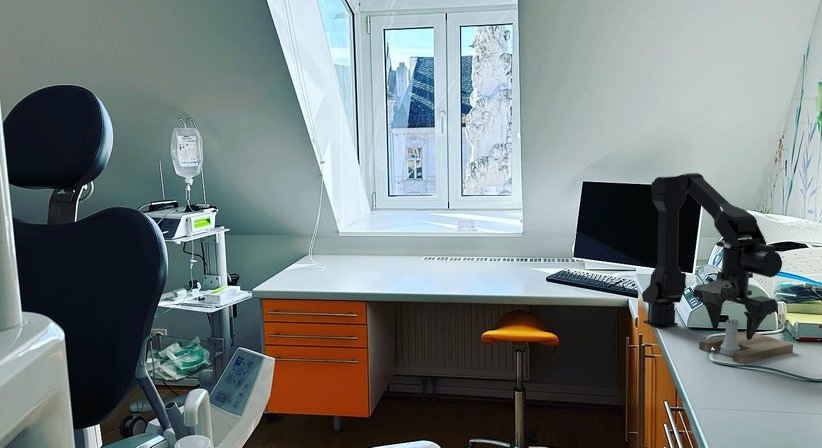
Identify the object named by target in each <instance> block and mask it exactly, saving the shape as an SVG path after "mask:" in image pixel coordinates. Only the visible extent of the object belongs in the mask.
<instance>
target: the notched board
mask: <svg viewBox="0 0 822 448" xmlns="http://www.w3.org/2000/svg"><path fill="white" fill-rule="evenodd" d="M724 339H725V335H721V336H715V337H711V338H706V339H701V340H698V341H699V343H698V350H701V351H704V352H708V353H709V352H712V351H711V348H712V347H713V348H714V349H715V350H714V351H718V350H721V345H722V344H723V342H724ZM737 341H738V344H739V345H738V346H739V347H740V348H741V350H740V351H737V352H733V356H732V361H733V362H736V363H738V364H742V365H745V364H749V363H753V362H758V361H761V360H766V359H767V360H768V359H770V358H775V357H779V356H784V355H788V354H791V353H792V354H793V352H794V344H793V343H791V342H787V341H783V340H779V339H777V338H773V337H770V336H767V335H763V334H761V333H757V332H755V334H754V335H753V337H752V339H750V340H747V337H746V330H745V331H740V332H738V333H737Z"/></svg>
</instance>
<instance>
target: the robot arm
mask: <svg viewBox="0 0 822 448" xmlns="http://www.w3.org/2000/svg"><path fill="white" fill-rule="evenodd" d="M650 191H651V200H652V203H653V204H654V206H655V208H656V209H657V213H658V215H657V217H658V219H657V264H656V266H655V268H654V270H653V271H652V273H651V275H650V280H649V281H650V282H649V285H648V286H647V287H646V289H644V290H643V291H642V293H641V297H642V302H644V303H647V304H648V305H647V306H648V308H647V319H646V320H645V319H644V320H643V323H644V324H645V325H649V326H653V327H655V328H657V329H658V328H659V329H666V328H670V327H671V328H672V327H676V326H679V323H678V322H675V321H676V309H675V305H676V303H679V304H680V303H681V301H682V298H683V296H684V293H685V290H686V289H687V284H686V282H687V281H686V280H687V275H686V274H687V273H686V272H683V271H682V270H681V269H680V267H679V265H678V263H679V262H678V259H679V220H680V219H679V215H680V214H679V213H680V209H681V208H682V206H683V205H684V203H685V201H686V197H687V193H688V194H689V196H691V197H692V198H693V200H695V201H696V202H697V204H698V205H700V206H701V207H702V208H703V209H704V210H705V211H706V213H708V214H709V215H710V216H711V218H712V219H713V224H714V227H715V229H716V231H717V233H719V234H720V236H721V237H722V238H721V239H720V240H719V241H717V242H716V244H715V245H716V247H721V248H722V260H721V271H718V272H717V274H716V278H715V280H713V281H710V282H706V283H701V284H696V285H695V287H694V288H693V295H692V297H694V298H697V299H696V300H697V301H698V302H700V303H701V304H703V305H704V307H705V309H706V312H707V313H708V317H709V320H710V323H711V326H712V329H713V330H717V329H718V327H719V325H720V321H721V316H722V315H721V314H722V310H723V305H724V303H725V302H726V301H727V302H732V303H737V304H739V305H743V306H744V308H745V309H746V311H743V314H744V315H745V317H746V330H745V331H746V337H747V340H750V339H752V337H753V335H754V334H755V333H757V330H758V329H759V327H760V325H761V324H762V323H763V321H764V320H765V319H766V317H768V315H772V314H773V313H778V312H779V311H778V310H779V309H778V308H779V303H778V301H777V299H775V298H773V297H769V296H763V295H759V296H753V297H749V296H752V295H753V291H752V290H751V289H749V282H750V280H749V279H752V278H754V276H753V275H758V276H762V277H767V278H774V277H776V276H778V274H779V273H780V272H781V269H782V267H783V260H782V257H781V255H780V254H779V253H778V252H777V251H776V245H771V244H770V245H768V244H767V241H766V239H765V236H764V234H763V232H762V231H761V229H760V226H759V224H758V221H757V218H756V217H755V216H754V215H753V214H751V213H750V212H748V211H747V210H745V209H743V208H740V207H738V206H735V205H732V204H731V203H730V202H729V201H728V200H727V199H726V198H725V197H723V196H722V194H721V193H719V192H718V191H717V189H715V188H714V187H713V186H712V185H711V184H710V183H709V182H708V181H706V180H705V178H704V176H703V175H702V174H701V173H698V172H694V173H693V172H692V173H691V172H689V173H687V172H686V173H683V174H680V175H676V176H673V175H672V176H658V177H656V178H655V179H654V181H651V187H650Z"/></svg>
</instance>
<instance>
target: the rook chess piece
mask: <svg viewBox="0 0 822 448" xmlns="http://www.w3.org/2000/svg"><path fill="white" fill-rule="evenodd" d="M723 325H724V326H725V330H724V331H725V335H724V336H725V339H724V342H723V344H722V345H721V349H719V352H720V354H721V355H724V356H726V357H733V352H737V351H740V350H741V348H740V347H739V346H738V345H739V344H738V341H737V333H739V331H738V328H740V324H739V321H738V320H737V319H733V318H732V319H730V318H729V319H728V318H727V319H726V320H725V322H724V324H723Z"/></svg>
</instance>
